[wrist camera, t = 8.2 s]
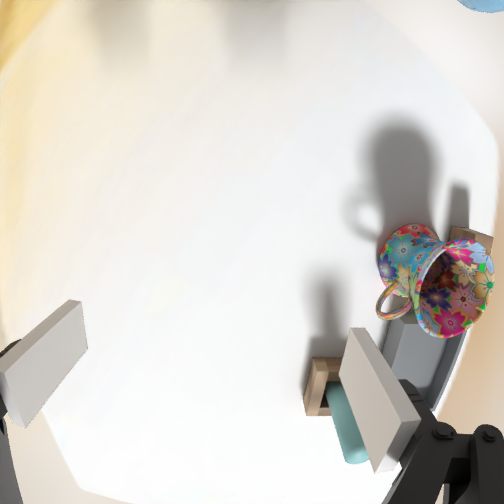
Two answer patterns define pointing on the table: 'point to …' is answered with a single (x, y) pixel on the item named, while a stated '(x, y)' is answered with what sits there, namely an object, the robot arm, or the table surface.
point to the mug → (436, 279)
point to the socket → (320, 385)
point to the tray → (421, 356)
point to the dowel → (345, 424)
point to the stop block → (471, 236)
